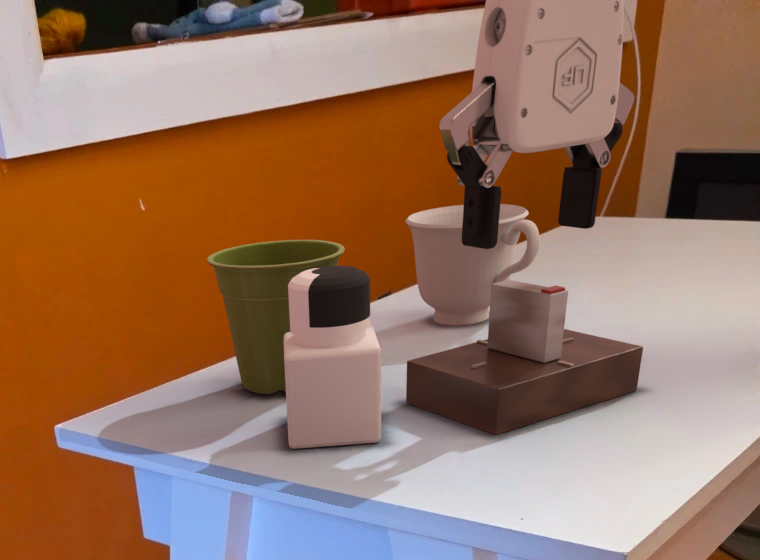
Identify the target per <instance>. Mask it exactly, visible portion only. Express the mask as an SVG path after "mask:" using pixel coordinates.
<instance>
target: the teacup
mask: <svg viewBox="0 0 760 560" xmlns="http://www.w3.org/2000/svg"><path fill="white" fill-rule="evenodd" d="M463 208H464V204H459V205H458V204H457V205H449V206H442V207H435V208H430V209H425V210H421V211H418V212H415V213H412V214H410V215H408V217H407V218H406V219H405V220H404V221H405V224H406V225H407V226H408V227H409V229H410V232H411V235H412V236H411V237H412V243H413V250H414V261H415V270H416V271H415V274H416V281H417V288H418V292H419V296H420V297H421V299H422V300H423V302H424V303H425V304H426V305H428V306H429V307H431V308H433V309H434V315H433V321H434V322H435V323H437V324H440V325H444V326H445V325H446V326H468V325H469V326H470V325H474V324H475V325H476V324H479V323H483V322H485V321H487V320H489V314H490V312H489V308H490V299H491V284H493V283H497V282H501V281H505V280H510V277H511V275H513V274H516V273H519V272H522V271H523V270H525V269H527V268H528V267H529V266H530V265H531V264H532V263H533V262H534V261H535V259H536V257H537V255H538V252H539V250H540V249H539V248H540V239H541V238H540V232H539V228H538V226H537V224H536V223H534V222H533V221H532V220H529V219H526V218H527V217H528V216H529V214H530V213H529V211H528V210H527V208H525V207H524V206H521V205H515V204H509V203H508V204H507V203H500V215H499V227H498V239H497V244H496V246H495V247H494V248H491V249H483V248H476V247H470V246H465V245H463V244H462V224H463ZM522 233H523V234H524V235H525V238H526V248H525V252H524V253H523V255H522V256H521V258H520V259H519V260H518V261H516V262H515V263H514V258H515V252H516V247H517V243H518V241H519V240H520V236H521V234H522Z"/></svg>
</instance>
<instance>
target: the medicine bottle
mask: <svg viewBox="0 0 760 560" xmlns="http://www.w3.org/2000/svg"><path fill="white" fill-rule="evenodd" d="M288 295H289V315H290V332H287V333H286V334H285V335H284V365H285V384H286V391H285V401H286V418H287V419H286V420H287V439H288V440H287V441H288V447H289V448H290V449H291V450H297V449H309V448H311V449H312V448H323V447H324V448H325V447H337V446H349V445H351V446H352V445H363V444H375V443H380V441H381V439H382V349H381V346H380V343H379V340H378V337H377V334H376V332H375V331H376V330H375V328H374V327H373V326H372V325H371V277H370V275H368V273H367V272H366V271H364V270H363V269H360V268H358V267H354V266H350V265H337V266H327V267H319V268H314V269H309V270H306V271H303V272H301V273H300V274H298V275H296V276H295V277H293V278H292V279H291V281H290V282H289V284H288Z"/></svg>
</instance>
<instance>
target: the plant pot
mask: <svg viewBox="0 0 760 560" xmlns="http://www.w3.org/2000/svg"><path fill="white" fill-rule="evenodd" d="M345 250H346V248H345V247H344V245H342V244H341V243H338V242H334V241H329V240H320V239H288V240H287V239H286V240H272V241H261V242H256V243H255V242H254V243H248V244H242V245H238V246H232V247H229V248H224V249H221V250H219V251H218V250H217V251H216V252H213V253H212V254H210V255H209V256H208V257H207V259H206V261H207V264H208V265H210V266H211V267H212V268H213V270H214V272H215V276H216V281H217V286H218V287H217V288H218V291H219V293H220V294H221V296H222V299H223V303H224V308H225V313H226V317H227V322H228V326H229V331H230V336H231V341H232V345H233V350H234V354H235V358H236V364H237V368H238V373H239V377H240V381H241V385H242V387H243V388H244V389H245V390H247V391H249V392H253V393H258V394H260V395H272V394H274V393H276V392H278V391H283V392H286V384H285V365H284V335H285V334H286V333H287V332H290V315H289V295H288V284H289V282H290V281H291V279H292V278H293V277H295V276H296V275H298V274H300V273H301V272H303V271H306V270H309V269H314V268H319V267H327V266H339V259H340V257H342V256H343V255H344V253H345Z"/></svg>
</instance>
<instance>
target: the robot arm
mask: <svg viewBox="0 0 760 560" xmlns="http://www.w3.org/2000/svg"><path fill="white" fill-rule="evenodd" d="M624 1H625V0H485V3H484V9H483V13H482V17H481V23H480V30H479V36H478V40H477V41H478V42H477V48H476V55H475V61H474V62H475V63H474V71H473V80H472V89H471V92H470V93H469V94H468V95H466V96H465V97H464V98H463V99H462V100H461V101H460V102H458V103H457V104H456V105H455V106H454V107H453V108H452V109H451V110H449V112H447V113H446V114H445V115H444V116H442V118H441V119H440V121H439V123H438V129H439V132H440V136H441V139H442V142H443V145H444V148H445V151H447V154H446V160H447V163H448V164H449V166H450V167H451V168H452V170H453V171H454V173H455V174H456V182H457V183H458V185H459V186H463V187H464V191H463V193H464V195H463V205H464V208H463V224H462V244H463V245H465V246H470V247H476V248H483V249H491V248H494V247H495V246H496V244H497V239H498V227H499V215H500V204H501V201H502V186H499V185H495V183H496V181H497V179H498V178H499V176H500V174H501V173H502V171H503V169H504V168H505V167H506V164H507V163H508V160H509V159H510V157H511V155H512V154H513V152H515V153H520V154H530V153H538V152H545V151H550V150H556V149H562V148H564V149H565V152H566V154H567V156H568V158H569V160H570V163H571V164H572V166H570V165H569V166H565V167H564V171H563V174H562V182H561V191H560V200H559V207H558V217H557V223H558V225H560V226H562V227H567V228H568V227H569V228H575V229H583V230H587V229H592V228H593V227H594V226H595V223H596V216H597V211H598V209H597V208H598V201H599V194H600V186H601V181H602V172H603V168H606V167H607V166H608V165H609V163H610V161H611V152H612V150H613V149H614V148H615V146H616V145H617V143H618V142H619V140H620V139H621V137H622V135H623V130H624V129H623V125H625V123H626V121H627V119H628V116H629V114H630V111H631V110H632V107H633V105H634V102H635V93H634V92H633V91H631V89H629V87H627V86H625V85H624V84H623V83H622V82H621V81H620V80H621V72H622V71H621V70H622V59H623V47H624V46H623V43H624V23H625V22H624V19H625V16H624V15H625V3H624ZM469 132H470V133H469ZM470 141H471V142H470ZM471 143H472V145H473V146H472V145H471Z"/></svg>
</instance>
